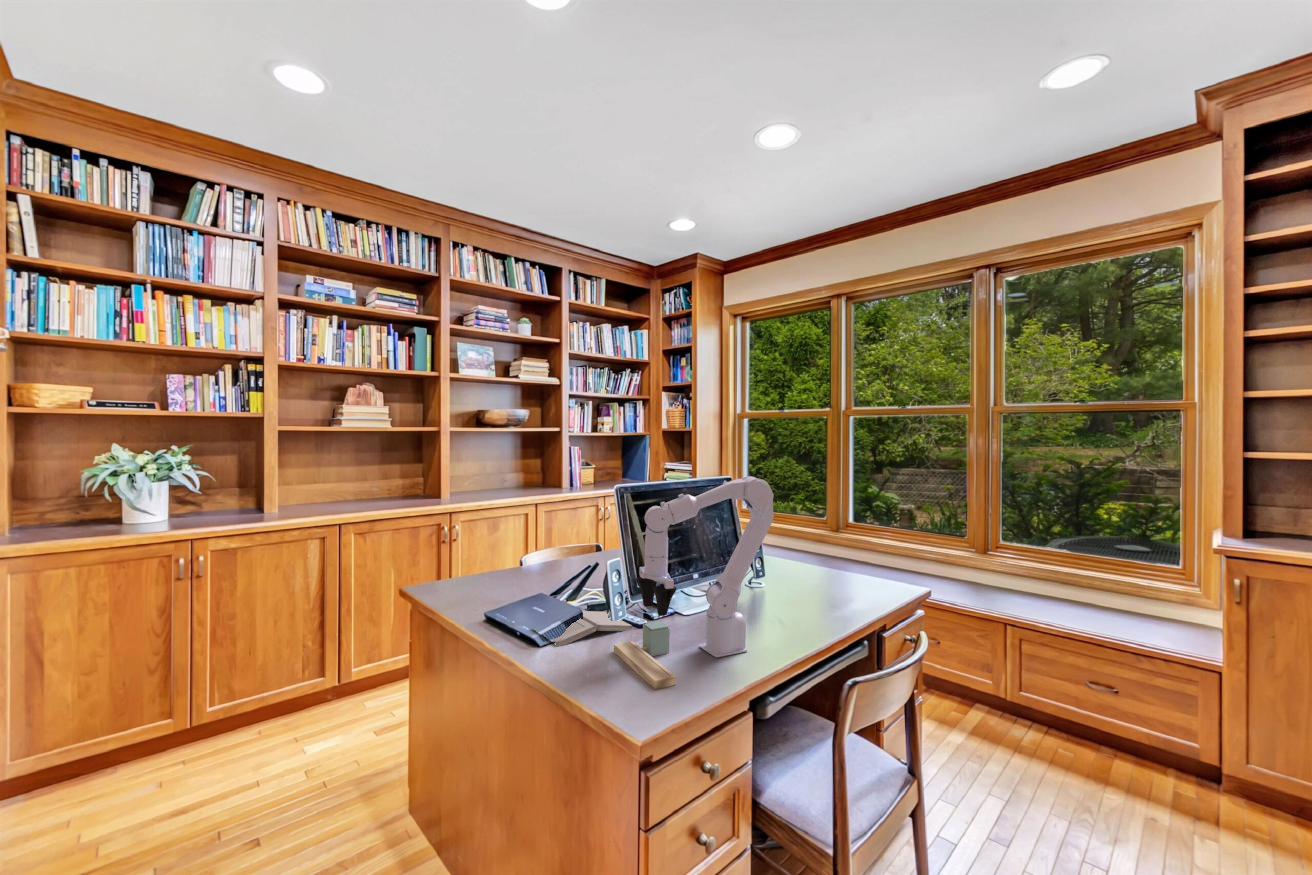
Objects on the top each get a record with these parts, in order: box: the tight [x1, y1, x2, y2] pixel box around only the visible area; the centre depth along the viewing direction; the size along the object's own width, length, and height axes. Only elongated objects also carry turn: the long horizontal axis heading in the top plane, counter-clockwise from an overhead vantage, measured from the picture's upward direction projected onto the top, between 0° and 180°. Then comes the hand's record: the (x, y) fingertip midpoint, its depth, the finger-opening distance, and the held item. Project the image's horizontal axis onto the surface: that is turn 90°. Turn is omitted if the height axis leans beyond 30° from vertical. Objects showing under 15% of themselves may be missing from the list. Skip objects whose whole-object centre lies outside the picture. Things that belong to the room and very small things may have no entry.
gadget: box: [554, 610, 633, 648], centre depth 150 cm, size 23×15×4 cm, turn 127°
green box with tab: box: [641, 621, 671, 657], centre depth 135 cm, size 6×4×6 cm
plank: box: [613, 640, 677, 690], centre depth 126 cm, size 5×22×2 cm, turn 27°
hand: (655, 610), depth 136 cm, fingers open, 7 cm apart
